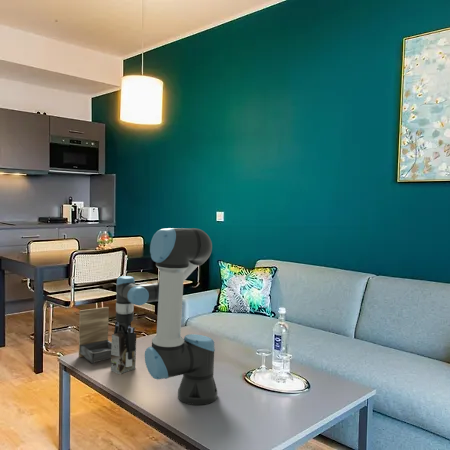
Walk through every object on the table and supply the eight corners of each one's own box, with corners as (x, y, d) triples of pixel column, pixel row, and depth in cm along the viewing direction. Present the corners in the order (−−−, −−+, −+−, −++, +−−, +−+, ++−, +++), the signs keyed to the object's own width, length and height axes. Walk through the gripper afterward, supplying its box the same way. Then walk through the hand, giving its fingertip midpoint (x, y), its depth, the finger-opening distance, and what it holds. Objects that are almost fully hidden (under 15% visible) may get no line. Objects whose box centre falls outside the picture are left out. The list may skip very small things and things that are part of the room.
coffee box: (119, 374, 187) (120, 337, 186) (110, 370, 190) (111, 334, 190) (136, 368, 194) (137, 332, 193) (126, 365, 198) (127, 329, 197)
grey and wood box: (121, 360, 203) (122, 313, 201) (91, 367, 194) (92, 317, 193) (106, 351, 214) (107, 306, 213) (78, 357, 205) (79, 310, 204)
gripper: (145, 316, 185) (143, 368, 186) (121, 305, 202) (119, 353, 203) (128, 318, 180) (127, 372, 181) (105, 307, 197) (104, 357, 198)
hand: (123, 362), depth 192 cm, fingers open, 9 cm apart
